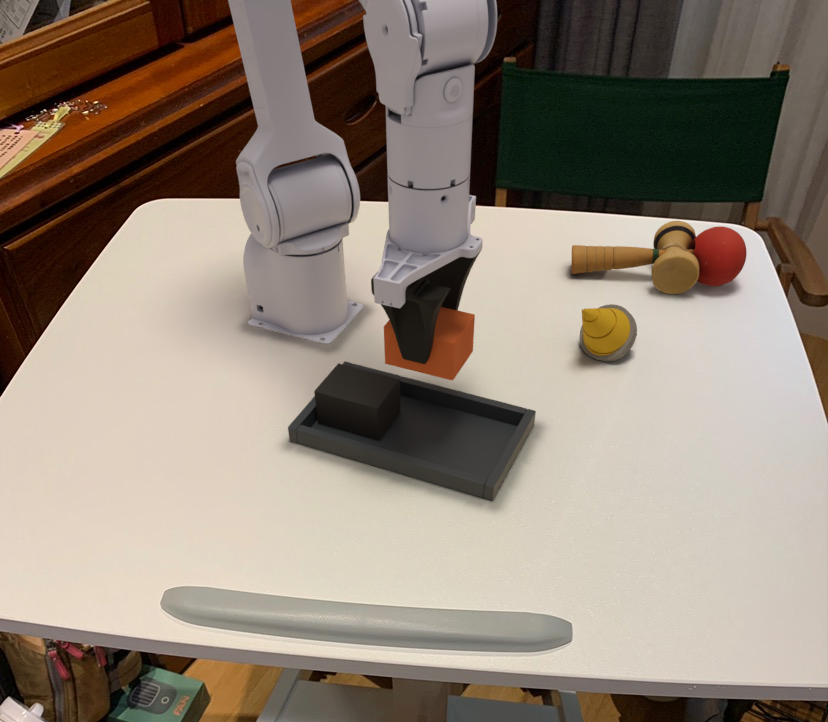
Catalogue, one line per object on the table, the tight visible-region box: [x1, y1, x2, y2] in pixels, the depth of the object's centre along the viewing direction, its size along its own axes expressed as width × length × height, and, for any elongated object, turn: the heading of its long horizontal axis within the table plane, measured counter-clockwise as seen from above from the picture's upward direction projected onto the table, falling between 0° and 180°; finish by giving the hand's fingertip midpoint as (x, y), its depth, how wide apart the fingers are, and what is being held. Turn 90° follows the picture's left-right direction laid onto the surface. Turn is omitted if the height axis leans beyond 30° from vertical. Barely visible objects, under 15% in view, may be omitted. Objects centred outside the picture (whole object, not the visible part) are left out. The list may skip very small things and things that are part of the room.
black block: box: [313, 362, 400, 441], centre depth 72 cm, size 6×4×4 cm
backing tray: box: [287, 360, 537, 502], centre depth 71 cm, size 19×11×2 cm, turn 66°
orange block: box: [383, 307, 476, 381], centre depth 66 cm, size 6×4×4 cm
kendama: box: [570, 220, 747, 295], centre depth 88 cm, size 8×6×18 cm
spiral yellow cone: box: [579, 303, 638, 363], centre depth 77 cm, size 5×5×10 cm
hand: (427, 343), depth 67 cm, fingers closed on orange block, 4 cm apart
